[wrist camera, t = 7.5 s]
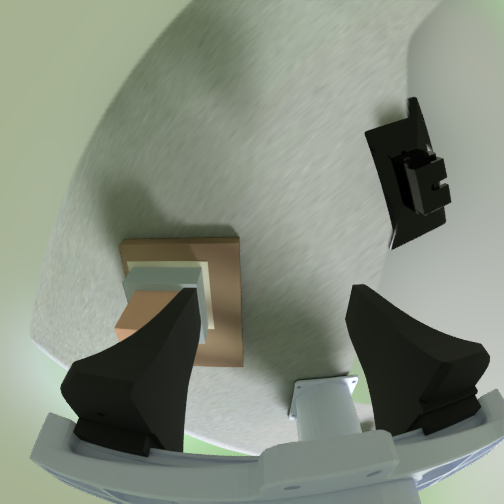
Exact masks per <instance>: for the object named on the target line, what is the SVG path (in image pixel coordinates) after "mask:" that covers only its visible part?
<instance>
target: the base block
mask: <svg viewBox="0 0 504 504" xmlns="http://www.w3.org/2000/svg"><path fill="white" fill-rule="evenodd" d="M122 283H123V287H124V291H125V295H126V298H127V302H128V303H129V301H130V299H131V298H132V296H133V294H134V292H135V291H178V292H180V291H181V290H182V289H183V288H184V287H185V288H197V294H198V302H199V309H200V316H201V331H200V339H199V344H205V342H206V336H207V331H208V317H207V309H206V301H205V292H204V283H203V274H202V267H133V268H132V270H131V271H130V272H129V274H128V275H127V277H126V278H125V280H124V281H123V282H122Z"/></svg>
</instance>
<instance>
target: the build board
mask: <svg viewBox="0 0 504 504" xmlns="http://www.w3.org/2000/svg"><path fill="white" fill-rule="evenodd" d="M119 249H120V253H121V258H122V262H123V267H124V271H125V275H126V277H127V275H128V274H129V272H130V271H131V270H132V268H133V267H202V274H203V283H204V292H205V301H206V309H207V317H208V331H207V336H206V342H205V344H198V348H197V352H196V356H195V360H194V364H193V366H211V367H243V336H242V308H241V277H240V243H239V237H213V238H160V239H124V240H123V241H122V242H121V243H120V244H119Z"/></svg>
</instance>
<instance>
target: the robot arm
mask: <svg viewBox="0 0 504 504" xmlns="http://www.w3.org/2000/svg"><path fill="white" fill-rule="evenodd" d="M345 320H346V324H347V329H348V332H349V336H350V339H351V341H352V344H353V346H354V349H355V351H356V354H357V356H358V358H359V361H360V363H361V366H362V368H363V371H364V374H365V377H366V380H367V384H368V388H369V392H370V397H371V402H372V407H373V413H374V419H375V427H376V430H372V431H366V432H362V430H361V426H360V423H359V419H358V416H357V412H356V409H355V406H354V402H353V399H352V396H351V395H352V393H353V390H354V388H355V386H356V383H357V381H358V375H350V376H342V377H333V378H323V379H312V380H299V381H297V382H296V383H295V387H294V393H293V398H292V403H291V408H290V414H289V420H296V423H297V431H298V439H299V441H298V442H291V443H285V444H279V445H276V446H273V447H271V448H268V449H266V450H265V451H263V453H262V454H261V455H260V456H218V455H203V454H192V453H183V440H184V423H185V411H186V401H187V392H188V385H189V380H190V376H191V372H192V368H193V364H194V360H195V356H196V352H197V348H198V344H199V339H200V331H201V316H200V309H199V302H198V294H197V288H185V287H184V288H183V289H182V290H181V291H180V292H179V293H178V294H177V295H176V296H175V297H174V298H173V299H172V300H171V301H170V302H169V303H168V304H167V305H166V306H165V307H164V308H163V309H162V310H161V311H160V312H159V313H158V314H157V315H156V316H155V317H154V318H152V319H151V320H150V321H149V322H148V323H147V324H145V325H144V326H143V327H142V328H140V329H139V330H138V331H136V332H135V333H133V334H132V335H130V336H129V337H127V338H126V339H124V340H122V341H121V342H119V343H117V344H116V345H114V346H112V347H110V348H108V349H106V350H104V351H101V352H99V353H97V354H95V355H92V356H89V357H87V358H84V359H81V360H78V361H75V362H73V364H72V366H71V367H70V369H69V371H68V373H67V375H66V377H65V379H64V380H63V382H62V384H61V388H60V389H61V393H62V395H63V397H64V399H65V400H66V402H67V403H68V404H69V406H70V407H71V408H72V409H73V411H74V412H75V413H76V414H77V416H78V417H79V419H78V421H77V424H76V423H75V422H73V421H72V420H70V419H67V418H65V417H62V416H59V415H56V414H53V413H49V414H48V416H47V418H46V420H45V422H44V424H43V426H42V429H41V431H40V433H39V435H38V438H37V440H36V443H35V445H34V447H33V450H32V452H31V455H30V459H31V460H32V461H33V462H34V463H36V464H37V465H38V466H40V467H41V468H42V469H44V470H45V471H47V472H48V473H49V474H51V475H52V476H54V477H55V478H57V479H58V480H60V481H61V482H63V483H65V484H67V485H70V486H72V487H74V488H76V489H79V490H81V491H84V492H86V493H88V494H91V495H94V496H96V497H99V498H102V499H104V500H107V501H110V502H113V503H116V504H421V502H420V498H419V495H418V491H421V490H423V489H425V488H427V487H429V486H431V485H433V484H435V483H437V482H440V481H441V480H443V479H445V478H447V477H449V476H451V475H453V474H455V473H456V472H458V471H460V470H462V469H464V468H465V467H467V466H469V465H470V464H472V463H474V462H475V461H477V460H479V459H480V458H482V457H483V456H485V455H487V454H488V453H489V452H490V451H492V450H493V449H494V448H495V447H496V446H497V445H498V444H500V443H501V442H502V441H503V440H504V399H503V397H502V396H501V394H500V392H499V391H498V389H495V390H493V391H491V392H489V393H487V394H485V395H483V396H481V397H480V398H479V399H478V400H477V398H476V396H475V395H476V394H477V392H478V390H477V388H476V387H475V385H476V384H477V382H478V381H479V379H480V378H481V377H482V375H483V374H484V372H485V370H486V369H487V367H488V365H489V362H490V356H489V354H488V353H487V351H486V350H485V348H484V347H483V346H482V344H480V343H476V342H471V341H467V340H463V339H459V338H456V337H453V336H450V335H447V334H445V333H442V332H440V331H438V330H435V329H433V328H431V327H429V326H427V325H425V324H423V323H421V322H419V321H417V320H416V319H414V318H412V317H410V316H409V315H408V314H406V313H404V312H403V311H401V310H400V309H399V308H397V307H395V306H394V305H393V304H391V303H390V302H389V301H387V300H386V299H384V298H383V297H382V296H380V295H379V294H378V293H376V292H375V291H374V290H372V289H371V288H369V287H368V286H366V285H365V284H360V285H352V290H351V295H350V300H349V304H348V309H347V313H346V317H345Z"/></svg>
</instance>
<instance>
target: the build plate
mask: <svg viewBox="0 0 504 504" xmlns="http://www.w3.org/2000/svg"><path fill="white" fill-rule="evenodd" d="M365 137H366V140H367V142H368V145H369V148H370V151H371V154H372V157H373V160H374V163H375V166H376V169H377V172H378V176H379V179H380V182H381V186H382V189H383V193H384V196H385V200H386V204H387V208H388V211H389V215H390V220H391V224H392V228H393V229H392V233H391V236H390V241H389V245H388V248H389V249H390V250H393V249H395V248H397V247H400V246H402V245H404V244H406V243H408V242H409V241H412V240H414V239H416V238H418V237H420V236H422V235H424V234H426V233H428V232H430V231H432V230H434V229H436V228H438V227H440V226H441V225H443V224H445V223H446V215H445V208H444V206H445V205H447V204H449V203H451V196H450V190H449V185H448V184H446V183H445V184H442V185H440V181H441V180H443V179H445V178H447V174H446V168H445V164H444V159H443V158H440V157H436V154H435V153H434V152H433V148H432V145H431V141H430V137H429V134H428V130H427V127H426V124H425V120H424V117H423V114H422V111H421V108H420V105H419V102H418V100H417V98H416V97H410V98H407V118H406V119H403V120H399V121H396V122H393V123H390V124H387V125H384V126H380V127H377V128H374V129H371V130H368V131H366V132H365ZM427 147H428V148H429V149H430V151H431V152H430V151H428V150H427Z"/></svg>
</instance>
